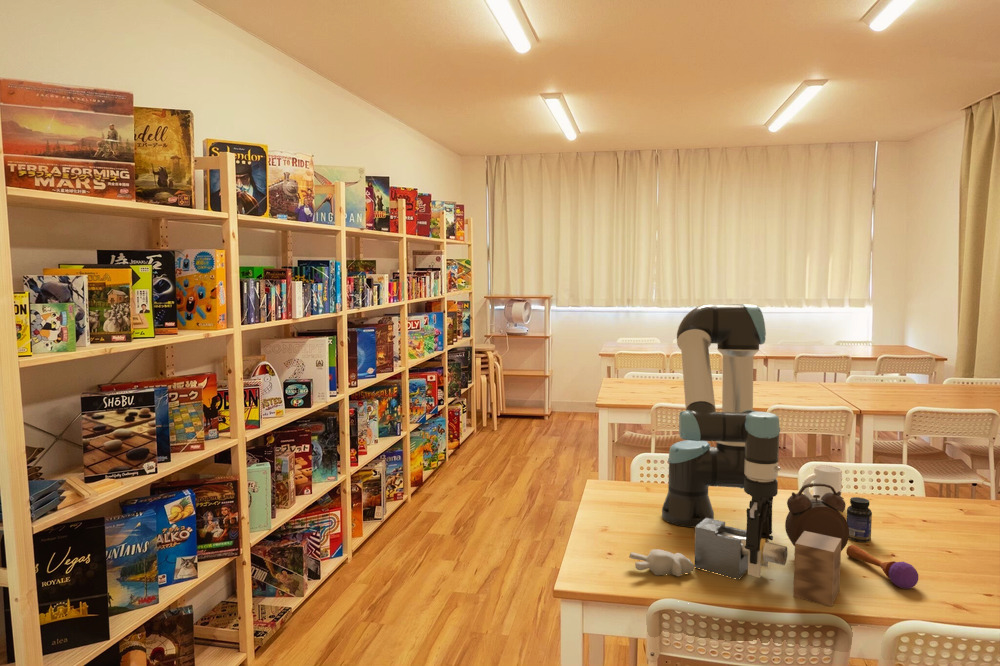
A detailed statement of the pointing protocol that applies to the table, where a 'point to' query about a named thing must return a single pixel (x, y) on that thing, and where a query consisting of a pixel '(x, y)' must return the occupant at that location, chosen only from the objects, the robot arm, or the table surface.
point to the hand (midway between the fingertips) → (758, 570)
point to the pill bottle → (859, 520)
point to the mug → (823, 480)
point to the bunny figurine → (663, 562)
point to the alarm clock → (817, 515)
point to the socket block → (817, 568)
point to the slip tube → (764, 550)
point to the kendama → (888, 568)
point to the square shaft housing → (719, 549)
